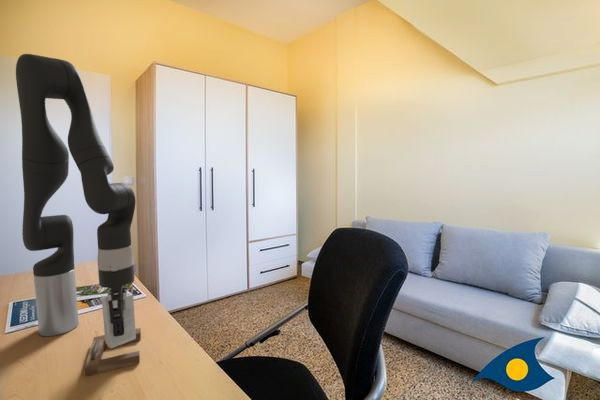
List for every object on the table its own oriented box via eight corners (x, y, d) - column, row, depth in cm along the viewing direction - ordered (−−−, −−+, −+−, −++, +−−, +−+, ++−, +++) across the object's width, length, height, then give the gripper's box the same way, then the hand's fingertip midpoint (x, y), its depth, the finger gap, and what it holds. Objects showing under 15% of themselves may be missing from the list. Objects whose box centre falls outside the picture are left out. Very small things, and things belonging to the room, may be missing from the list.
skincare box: (130, 333, 81) (127, 289, 80) (136, 339, 79) (133, 294, 77) (104, 342, 77) (101, 296, 76) (109, 349, 74) (106, 302, 73)
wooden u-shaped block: (94, 344, 82) (93, 334, 82) (140, 334, 87) (140, 325, 87) (84, 376, 70) (84, 364, 69) (139, 362, 74) (138, 352, 74)
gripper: (102, 258, 81) (106, 319, 82) (93, 275, 68) (98, 348, 69) (134, 255, 84) (138, 314, 86) (131, 270, 71) (135, 340, 73)
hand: (120, 329), depth 77 cm, fingers closed on skincare box, 5 cm apart
